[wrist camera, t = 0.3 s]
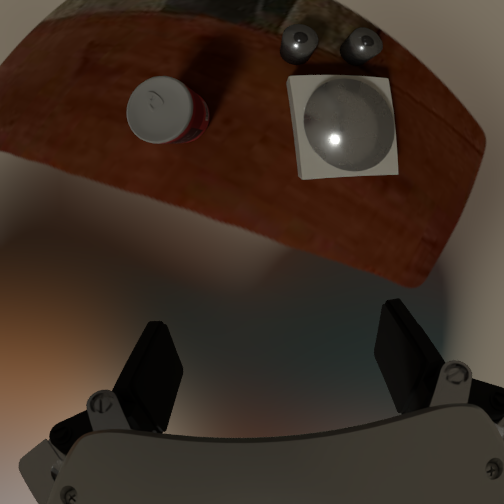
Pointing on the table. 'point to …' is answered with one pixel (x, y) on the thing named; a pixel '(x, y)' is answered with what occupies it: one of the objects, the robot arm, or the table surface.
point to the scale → (306, 156)
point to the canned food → (166, 111)
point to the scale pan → (349, 124)
